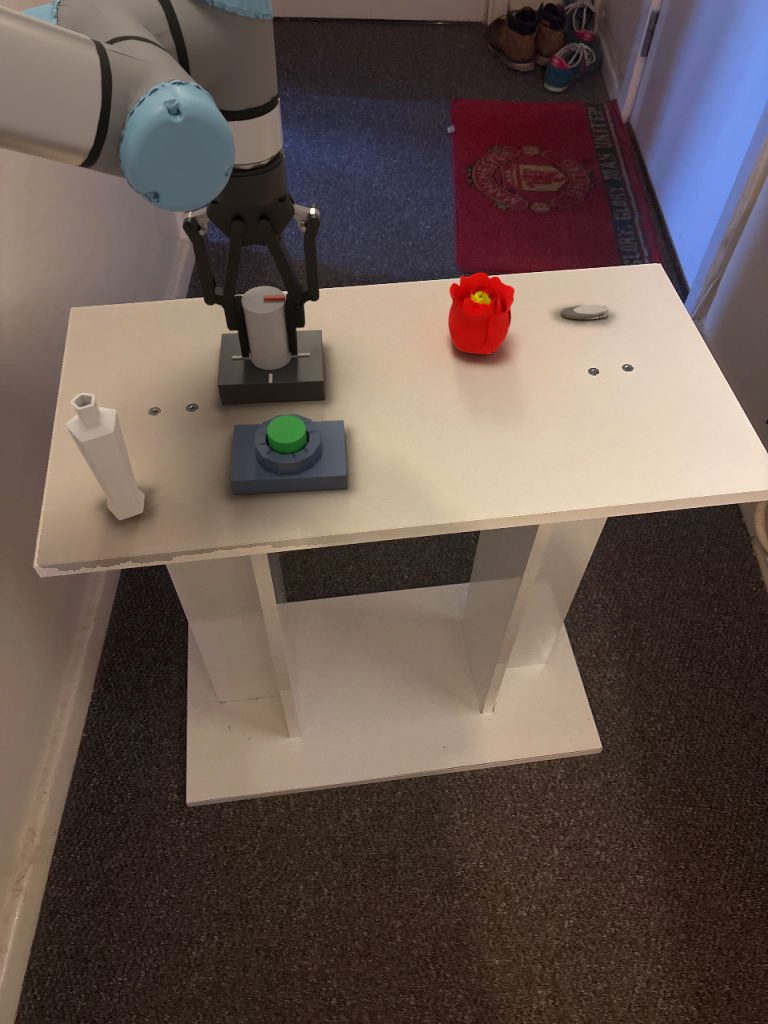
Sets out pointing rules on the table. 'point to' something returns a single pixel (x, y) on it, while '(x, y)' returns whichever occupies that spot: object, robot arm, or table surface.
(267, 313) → the dial
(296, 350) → the robot arm
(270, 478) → the button block
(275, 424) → the button
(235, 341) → the dial panel
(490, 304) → the flower
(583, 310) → the oval pebble
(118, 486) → the perfume bottle
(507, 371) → the table surface
